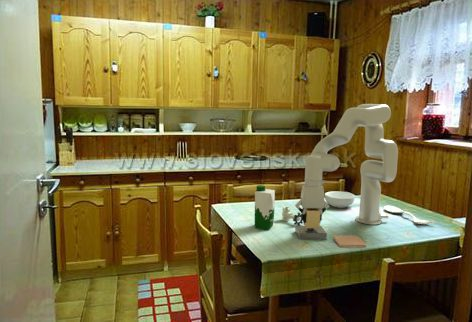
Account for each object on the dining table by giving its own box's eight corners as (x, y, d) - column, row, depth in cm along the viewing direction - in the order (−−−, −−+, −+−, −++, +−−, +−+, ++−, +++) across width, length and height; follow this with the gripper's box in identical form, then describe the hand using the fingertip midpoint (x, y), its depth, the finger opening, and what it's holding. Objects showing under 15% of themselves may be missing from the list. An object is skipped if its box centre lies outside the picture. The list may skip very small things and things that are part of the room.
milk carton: (257, 223, 189) (258, 183, 186) (275, 225, 186) (276, 185, 183) (252, 228, 181) (253, 187, 178) (270, 231, 178) (272, 189, 174)
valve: (278, 220, 195) (293, 227, 185) (278, 207, 194) (294, 213, 184) (288, 218, 198) (304, 224, 188) (288, 206, 197) (304, 212, 187)
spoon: (419, 228, 187) (420, 221, 186) (380, 210, 218) (380, 204, 217) (434, 227, 189) (435, 220, 189) (393, 209, 220) (394, 203, 219)
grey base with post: (320, 231, 178) (321, 211, 176) (326, 239, 168) (327, 217, 167) (295, 231, 178) (296, 210, 176) (299, 239, 168) (300, 217, 166)
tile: (356, 237, 171) (357, 235, 171) (365, 247, 160) (366, 244, 160) (332, 237, 171) (332, 235, 171) (339, 247, 160) (340, 244, 160)
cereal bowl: (323, 201, 233) (323, 190, 232) (351, 203, 230) (352, 191, 229) (325, 209, 216) (326, 197, 215) (355, 211, 214) (356, 198, 213)
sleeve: (316, 223, 175) (317, 207, 174) (319, 228, 170) (320, 210, 168) (303, 223, 175) (304, 207, 174) (306, 228, 169) (306, 210, 168)
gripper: (330, 181, 173) (328, 219, 176) (292, 181, 173) (291, 219, 176) (334, 185, 166) (332, 224, 169) (295, 184, 165) (294, 224, 168)
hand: (311, 221), depth 172 cm, fingers closed on sleeve, 6 cm apart
